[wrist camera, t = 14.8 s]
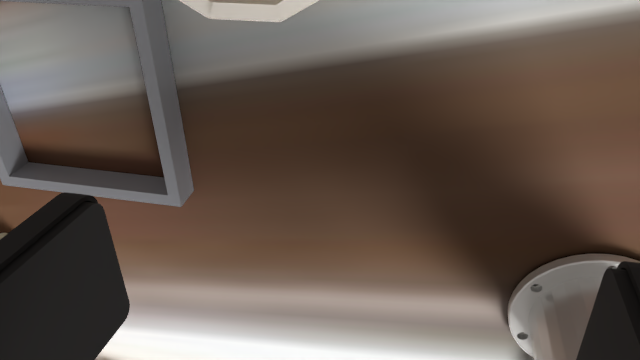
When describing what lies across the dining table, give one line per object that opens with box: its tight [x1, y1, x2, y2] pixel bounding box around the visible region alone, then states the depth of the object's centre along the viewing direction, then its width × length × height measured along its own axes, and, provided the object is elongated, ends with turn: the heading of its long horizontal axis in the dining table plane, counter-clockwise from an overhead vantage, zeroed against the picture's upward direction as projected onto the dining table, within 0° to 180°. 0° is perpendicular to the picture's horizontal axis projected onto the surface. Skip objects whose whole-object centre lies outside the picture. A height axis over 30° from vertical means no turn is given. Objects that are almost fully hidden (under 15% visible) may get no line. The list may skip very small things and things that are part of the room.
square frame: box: [0, 0, 194, 207], centre depth 40 cm, size 17×17×2 cm
